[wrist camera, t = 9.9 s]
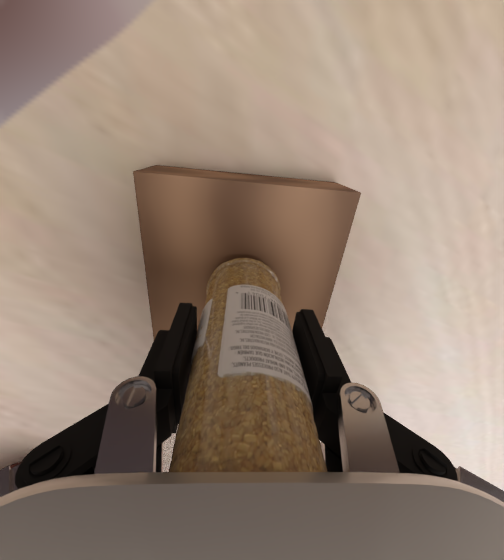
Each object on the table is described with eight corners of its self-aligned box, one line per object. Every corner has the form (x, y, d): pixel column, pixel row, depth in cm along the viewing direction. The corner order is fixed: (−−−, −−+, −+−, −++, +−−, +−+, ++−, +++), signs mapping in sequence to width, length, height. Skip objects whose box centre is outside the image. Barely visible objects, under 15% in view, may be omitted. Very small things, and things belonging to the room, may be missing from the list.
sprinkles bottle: (192, 287, 15) (27, 761, 4) (246, 239, 14) (270, 744, 2) (243, 329, 17) (246, 743, 5) (295, 289, 16) (460, 730, 4)
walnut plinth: (336, 182, 17) (361, 192, 14) (302, 321, 23) (314, 354, 19) (156, 165, 16) (133, 171, 13) (168, 315, 22) (155, 348, 18)
